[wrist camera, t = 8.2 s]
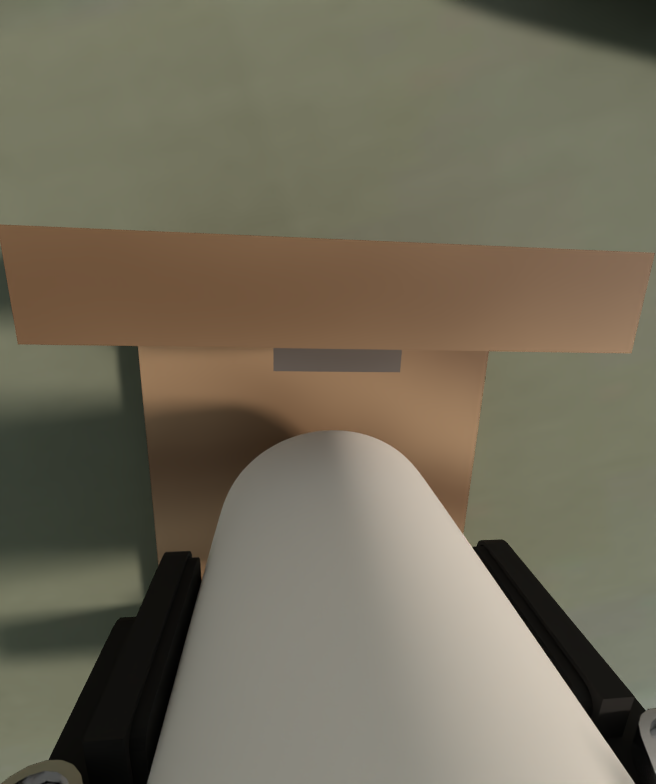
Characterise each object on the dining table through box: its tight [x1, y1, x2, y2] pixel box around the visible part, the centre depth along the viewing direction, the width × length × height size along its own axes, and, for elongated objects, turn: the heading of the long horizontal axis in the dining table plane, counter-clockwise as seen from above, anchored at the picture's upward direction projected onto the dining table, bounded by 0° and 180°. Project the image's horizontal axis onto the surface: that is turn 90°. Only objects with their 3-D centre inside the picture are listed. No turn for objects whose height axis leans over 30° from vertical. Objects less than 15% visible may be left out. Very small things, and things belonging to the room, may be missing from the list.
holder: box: [0, 225, 655, 580], centre depth 13 cm, size 16×12×7 cm
